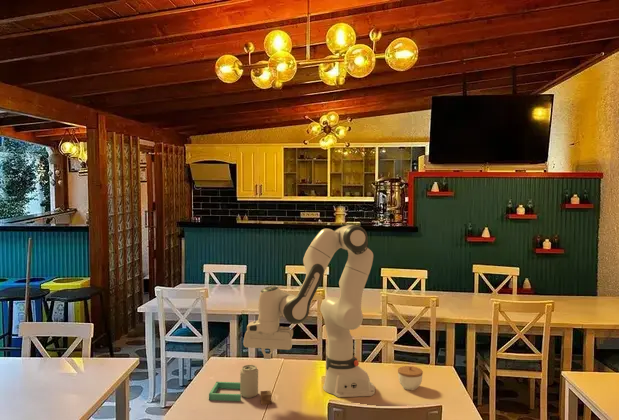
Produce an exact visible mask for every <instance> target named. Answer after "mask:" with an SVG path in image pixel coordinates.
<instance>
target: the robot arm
mask: <svg viewBox="0 0 619 420" xmlns="http://www.w3.org/2000/svg"><path fill="white" fill-rule="evenodd" d="M368 241H369V238H368V233H367V231H366V229H364V228H363V227H361V226H359V225H354V224H347V225H342V226H340V227H338V228H336V229H334V230H333V229H331V228H323V229H321V230H320V231H318V233H317V234H316V236H315V237H314V238H313V240H312V241H311V243H310V245H309V246H308V247H307V249H306V251H305V253H304V256H303V259H302V263H303V266H304V269H305V278H304V281H303V283H302V284H301V286H300V289H299V290H298V293H297V294H296V295H294V294H293V293H289V292H286V291H284V290H282V289H281V288H279V287H278V286H274V285H273V286H272V285H271V286H266V287H263V289H261V290H260V292H259V297H258V316H257V320H254V321H250V322H249V323H248V324H247V326H246V331H245V333H244V337H243V343H242V344H243V346H244V347H245V348H248V349H249V348H250V349H261V353H262V354H263V359H264V360H271V359H272V354H274V352H275V350H287V351H290V350H291V349H292V346H293V336H294V329H293V328H291V327H290V326H281V325H280V317H284V318H285V320H287V322H289V323H290V324H292V325H293V324H294V325H298V324H301V323H304V322H305V321H306V319H307V318H308V316H309V314H310V308H311V303H312V301H313V299H314V297H315V295H316V292H317V290H318V288H319V286H320V285H321V283H322V279H323V277H324V275H325V273H326V269H327V267H328V265H329V264H330V262H331V260H332V258H334V256H335V253H337V251H338V250H340V249H341V250H345V251H347V253H348V254H347V255H348V256H347V259H346V263H345V266H344V268H343V270H342V273H341V276H340V278H339V281H338V285H339V297H337V296H327V297H326V298H324V299H323V300H322V301H321V304H320V310H319V311H320V313H321V315H322V317H323V321H324V327H325V331H326V339H327V355H326V358H325V370H326V373H325V379H324V383H323V386H322V388H323V390H324V391H325V392H326V393H329V394H331V395H334V396H335V397H337V398H350V397H351V398H353V397H371V396H374V395H375V392H376V387H375V384H374V383H373V382H371V380H370V376H369V374H368V372H367V371H366V370H365V369H363V368H361V367H360V366H359V363H360V362H359V360H358V358H357V356H354V354H353V353H354V339H353V336H352V334H351V331H353V330H356V329H358V328H359V327H361V325H362V323H363V320H364V314H363V312H362V298H363V293H364V289H365V286H366V284H367V281H368V278H369V275H370V273H371V270H372V266H373V261H374V253H373V251H372V250H371V249H370V248H369V243H368ZM267 349H269V351H270V352H269V353H266V350H267Z"/></svg>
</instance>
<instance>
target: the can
mask: <svg viewBox="0 0 619 420" xmlns="http://www.w3.org/2000/svg"><path fill="white" fill-rule="evenodd" d="M239 374H240V379H239V381H240V389H239V391H240V392H239V393H240V394H241V397H243V398H245V399H246V398H247V399H249V398H255V397H256V396H257V395H258V394H259V369H258V368H257V365H253V364H245V365H243V366H242V367H241V370H240V372H239Z"/></svg>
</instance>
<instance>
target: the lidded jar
mask: <svg viewBox="0 0 619 420" xmlns="http://www.w3.org/2000/svg"><path fill="white" fill-rule="evenodd" d="M423 373H424V371H423V370H422V369H421V368H419V367H417V366H411V365H405V366H399V367H398V369H397V377H398V382H399V384H400V385H401V387H402V389H404V390H407V391H415V390H417V389H418V388H419V387H420V385H421V384H422V382H423Z"/></svg>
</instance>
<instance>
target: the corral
mask: <svg viewBox="0 0 619 420" xmlns="http://www.w3.org/2000/svg"><path fill="white" fill-rule="evenodd" d="M218 389H227V390H231V389H232V390H240V382H237V381H236V382H235V381H216V382H215V384H214V385H213V387H212V388H211V390H210V392H209V393H208V401H227V402H241V401H242V400H241V399H242V395H241V394H239V393H223V392H222V393H220V392H219V393H218Z"/></svg>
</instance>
